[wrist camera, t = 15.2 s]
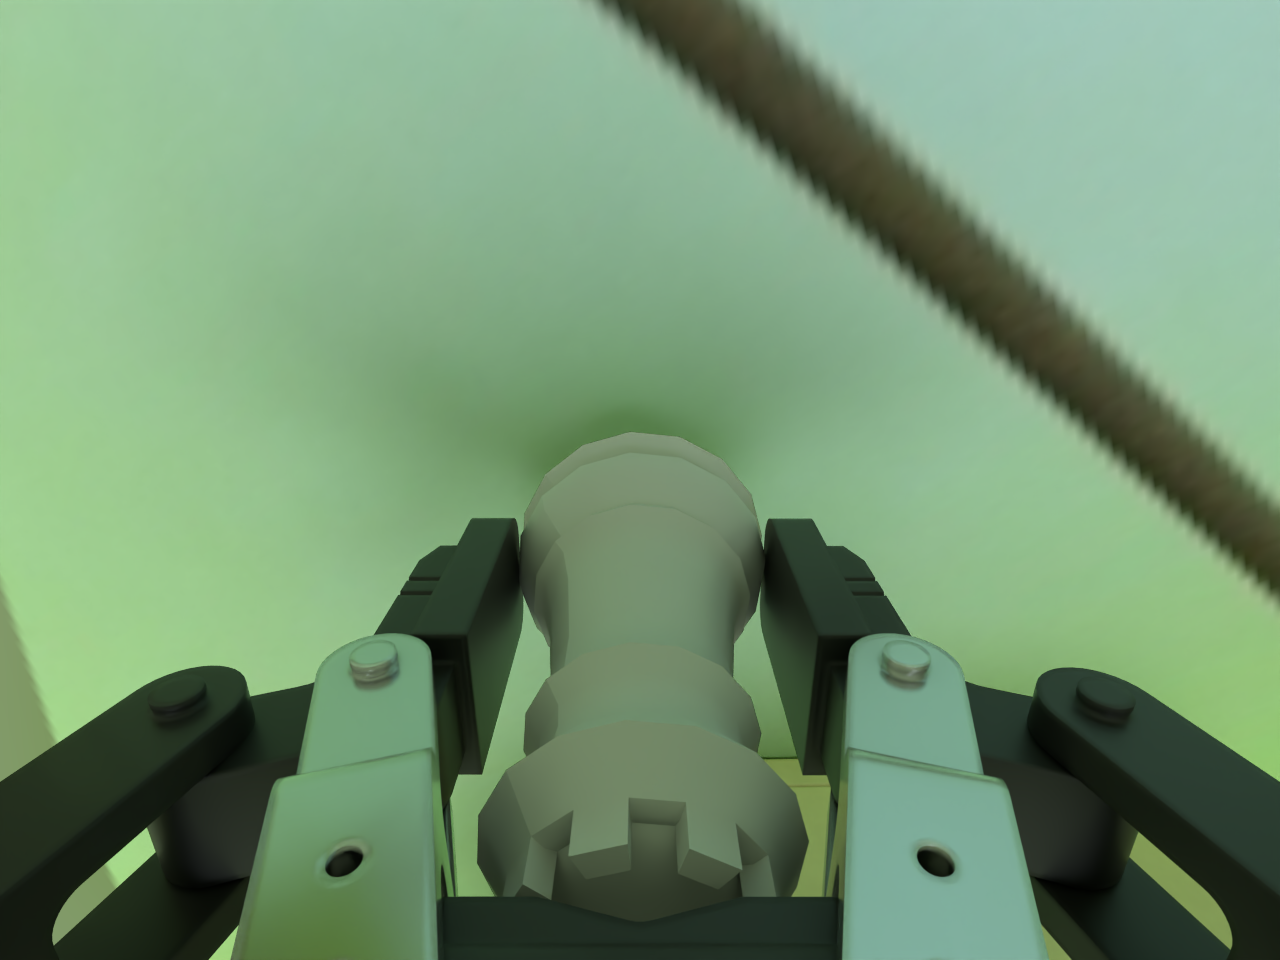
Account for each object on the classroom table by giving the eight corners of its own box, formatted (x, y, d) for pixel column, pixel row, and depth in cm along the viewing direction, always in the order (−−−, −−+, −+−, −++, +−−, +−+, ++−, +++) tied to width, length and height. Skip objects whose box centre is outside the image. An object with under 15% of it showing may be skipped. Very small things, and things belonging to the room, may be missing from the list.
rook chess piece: (479, 547, 13) (281, 971, 6) (625, 372, 12) (600, 643, 5) (654, 668, 15) (669, 1157, 7) (806, 520, 13) (1017, 929, 6)
